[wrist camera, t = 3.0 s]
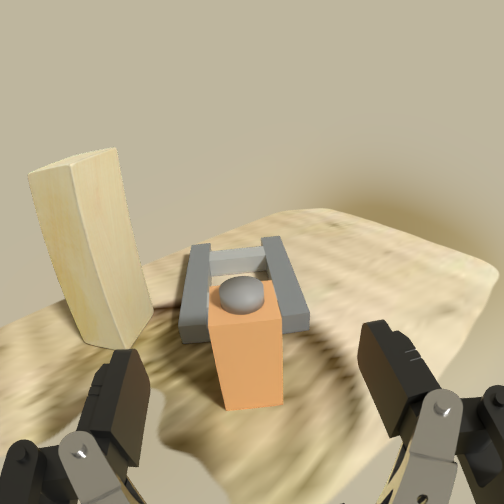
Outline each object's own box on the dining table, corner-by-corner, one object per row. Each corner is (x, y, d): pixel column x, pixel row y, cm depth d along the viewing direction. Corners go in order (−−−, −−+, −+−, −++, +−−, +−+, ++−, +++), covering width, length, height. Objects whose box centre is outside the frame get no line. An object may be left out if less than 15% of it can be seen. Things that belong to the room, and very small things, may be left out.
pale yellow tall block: (110, 306, 41) (69, 155, 32) (155, 311, 40) (118, 145, 30) (80, 343, 34) (21, 174, 25) (127, 353, 33) (69, 164, 23)
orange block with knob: (283, 404, 26) (281, 304, 21) (226, 410, 26) (205, 312, 21) (275, 365, 30) (271, 266, 25) (224, 370, 30) (207, 273, 25)
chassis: (309, 330, 35) (309, 312, 34) (182, 343, 34) (177, 326, 33) (280, 250, 52) (279, 235, 51) (193, 259, 52) (191, 245, 51)
